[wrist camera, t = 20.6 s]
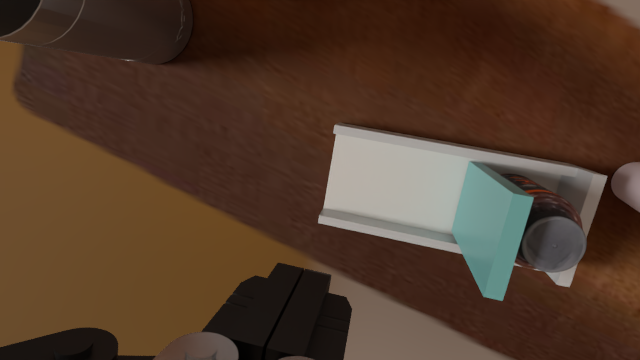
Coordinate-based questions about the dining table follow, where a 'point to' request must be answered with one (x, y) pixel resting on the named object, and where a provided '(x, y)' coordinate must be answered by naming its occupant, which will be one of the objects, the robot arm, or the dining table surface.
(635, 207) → the smoothie
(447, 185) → the lane
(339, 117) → the dining table surface
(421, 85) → the dining table surface
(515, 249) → the pusher
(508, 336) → the dining table surface
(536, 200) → the supplement bottle
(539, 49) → the dining table surface
